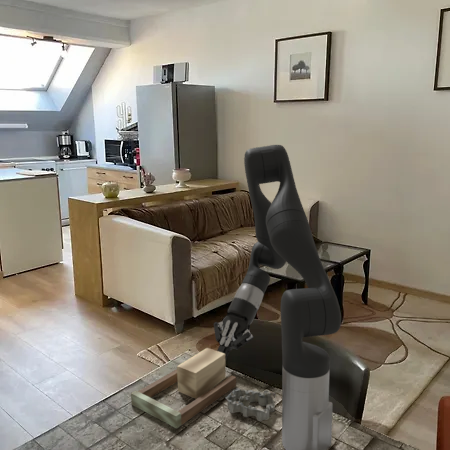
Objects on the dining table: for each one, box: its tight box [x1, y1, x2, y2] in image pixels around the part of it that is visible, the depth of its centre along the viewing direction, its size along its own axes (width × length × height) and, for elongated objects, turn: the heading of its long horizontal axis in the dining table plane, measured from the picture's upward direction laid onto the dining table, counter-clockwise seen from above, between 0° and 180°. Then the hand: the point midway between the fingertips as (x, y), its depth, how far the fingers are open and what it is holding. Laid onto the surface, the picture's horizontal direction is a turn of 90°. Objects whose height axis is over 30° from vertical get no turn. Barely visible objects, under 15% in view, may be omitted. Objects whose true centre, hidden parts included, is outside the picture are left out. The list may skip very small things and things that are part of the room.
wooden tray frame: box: [130, 368, 237, 429], centre depth 113 cm, size 15×22×3 cm
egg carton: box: [225, 387, 277, 422], centre depth 106 cm, size 11×8×4 cm
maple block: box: [176, 347, 227, 400], centre depth 117 cm, size 6×12×7 cm, turn 144°
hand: (219, 360), depth 122 cm, fingers closed
